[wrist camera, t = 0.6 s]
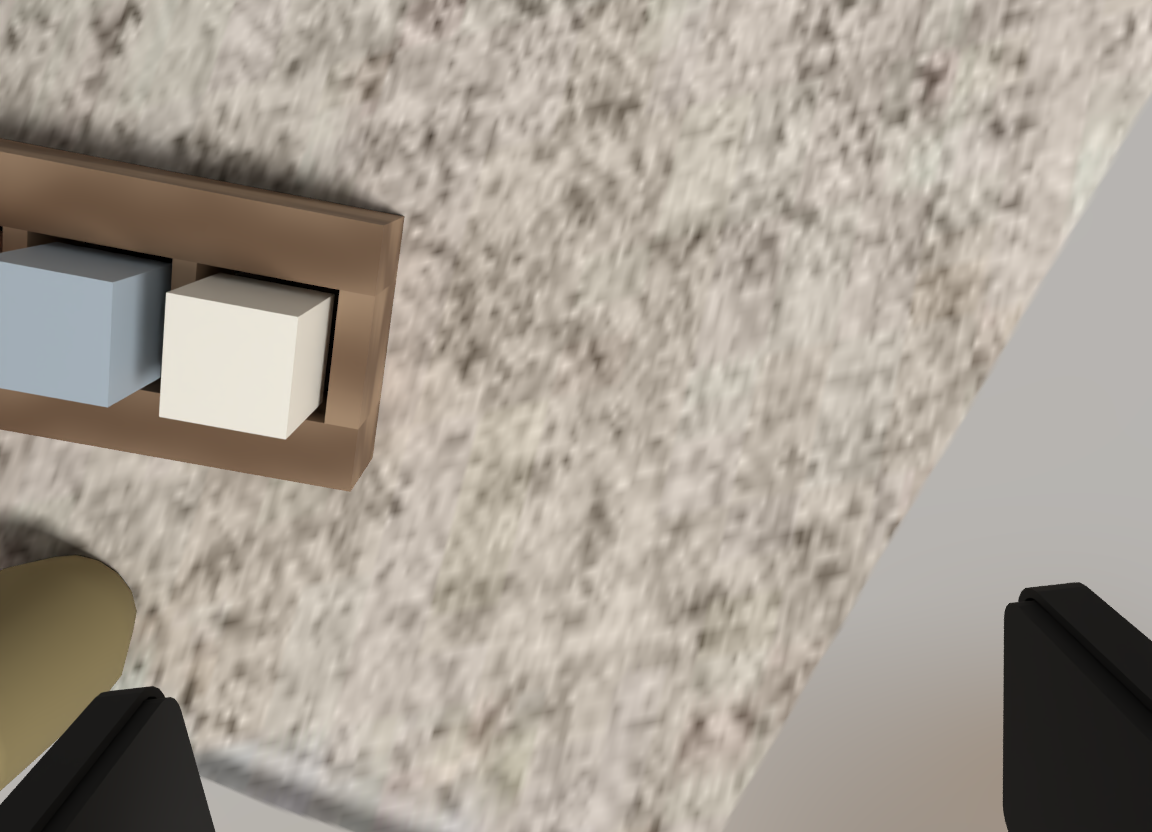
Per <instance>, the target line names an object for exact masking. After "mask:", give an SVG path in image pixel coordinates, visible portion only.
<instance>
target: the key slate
mask: <svg viewBox="0 0 1152 832" xmlns="http://www.w3.org/2000/svg"><path fill="white" fill-rule="evenodd" d="M171 280H172V263H167V262H161V261H156V260H151V259H145V258H140V257H135V256H129V255H124V254H119V253H114V252H108V251H103V250H98V249H92V248H87V247H82V246H76V245H71V244H66V243H61V242H53V243H48V244H43V245H38V246H32V247H27V248H22V249H17V250H12V251H7V252H2V253H0V388H2V389H8V390H13V391H19V392H25V393H30V394H36V395H41V396H47V397H52V398H58V399H63V400H69V401H74V402H80V403H86V404H91V405H97V406H102V407H109V406H111V405H113V404H115V403H116V402H118V401H120V400H122V399H124V398H125V397H127V396H129V395H131V394H132V393H134V392H136V391H138V390H139V389H141V388H143V387H145V386H146V385H148V384H150V383H152V382H153V381H155V380H157V379H159V378H160V377H161V373H162V355H163V338H164V321H165V304H166V292H169V291H171Z"/></svg>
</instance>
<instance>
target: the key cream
mask: <svg viewBox="0 0 1152 832" xmlns="http://www.w3.org/2000/svg"><path fill="white" fill-rule="evenodd" d="M334 295H335V294H331V293H326V292H320V291H315V290H310V289H304V288H299V287H294V286H289V285H283V284H278V283H273V282H267V281H262V280H257V279H251V278H246V277H241V276H235V275H230V274H225V273H217V274H214V275H212V276H209V277H206V278H204V279H201V280H198V281H196V282H193V283H190V284H188V285H185V286H182V287H179V288H177V289H174V290H171V291H169V292H166V304H165V321H164V338H163V355H162V373H161V390H160V407H159V417H163V418H169V419H174V420H180V421H186V422H191V423H197V424H202V425H208V426H213V427H219V428H224V429H230V430H235V431H241V432H247V433H252V434H258V435H263V436H269V437H274V438H280V439H285V440H286V439H287V438H288V437H289V436H290V435H291V434H292V433H293V432H294V431H295V430H296V429H297V428H298V427H299V426H300V425H301V424H302V423H303V421H304V420H305V419H306V418H307V417H308V416H309V415H310V414H311V413H312V412H313V411H314V410H315V409H316V408H317V407H318V406H319V405H320V404H321V403H322V401H323V392H324V383H325V374H326V366H327V357H328V348H329V339H330V330H331V321H332V313H333V304H334Z"/></svg>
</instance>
